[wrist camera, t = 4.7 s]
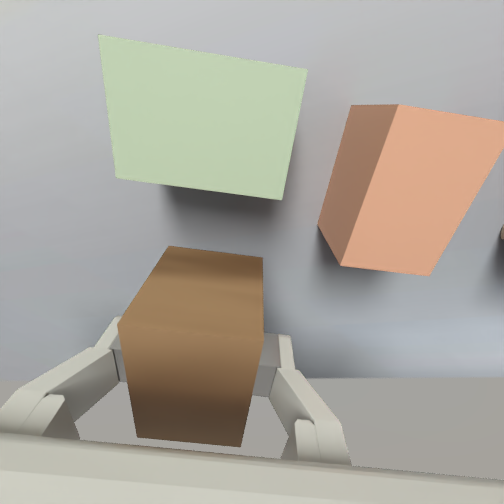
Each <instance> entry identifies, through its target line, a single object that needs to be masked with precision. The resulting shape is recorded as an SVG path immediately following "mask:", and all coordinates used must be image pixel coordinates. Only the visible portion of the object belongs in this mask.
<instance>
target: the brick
mask: <svg viewBox="0 0 504 504" xmlns="http://www.w3.org/2000/svg"><path fill="white" fill-rule="evenodd" d="M501 239H503V240H504V225H503V227H502V230H501Z"/></svg>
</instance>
